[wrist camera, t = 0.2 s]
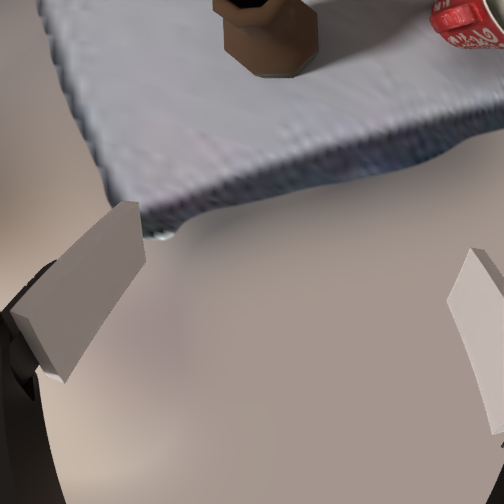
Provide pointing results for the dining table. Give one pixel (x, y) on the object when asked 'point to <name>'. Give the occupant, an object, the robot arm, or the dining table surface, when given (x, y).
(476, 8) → the mug
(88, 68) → the dining table surface
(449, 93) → the dining table surface
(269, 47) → the beer bottle
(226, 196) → the dining table surface
